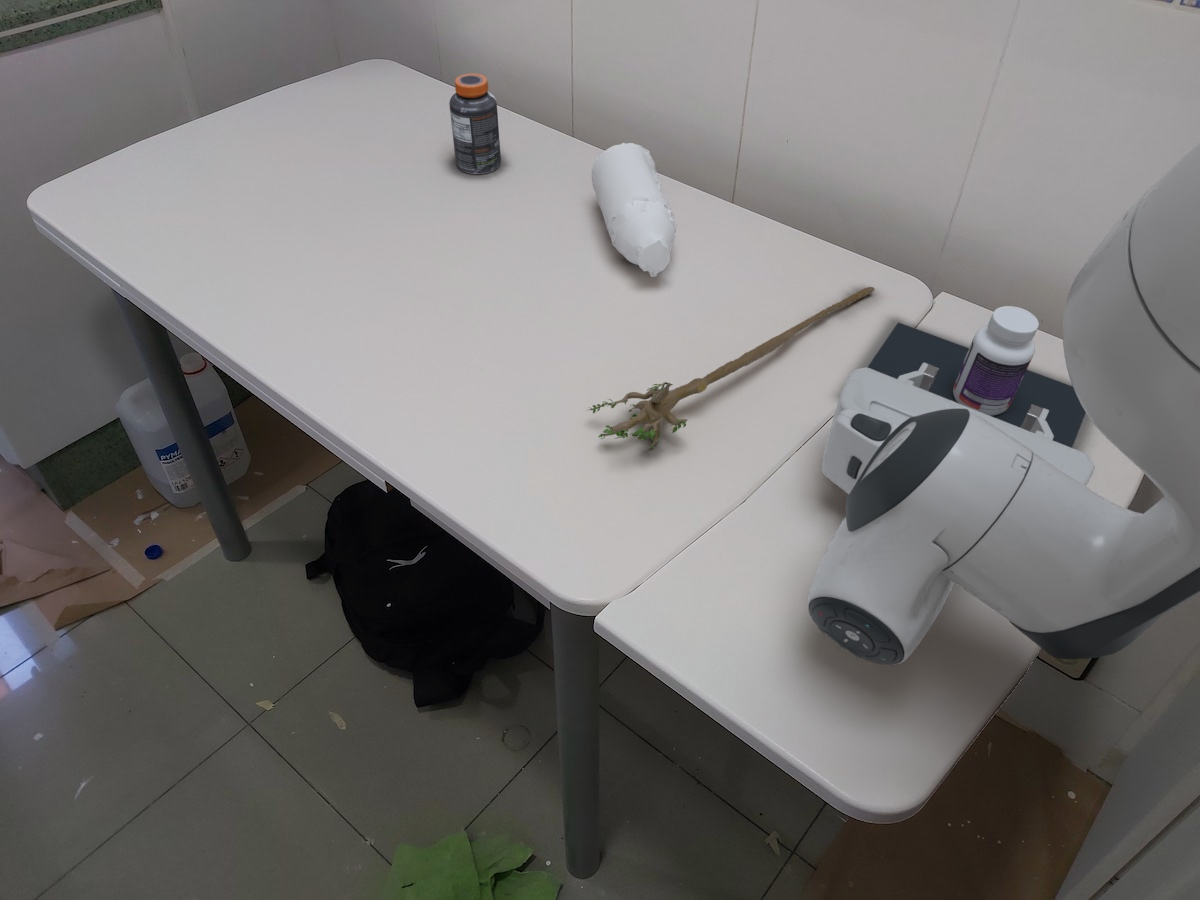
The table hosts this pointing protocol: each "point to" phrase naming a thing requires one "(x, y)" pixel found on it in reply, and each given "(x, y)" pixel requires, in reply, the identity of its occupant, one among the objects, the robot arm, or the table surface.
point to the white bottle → (634, 206)
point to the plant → (700, 384)
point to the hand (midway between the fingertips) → (982, 391)
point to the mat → (916, 347)
